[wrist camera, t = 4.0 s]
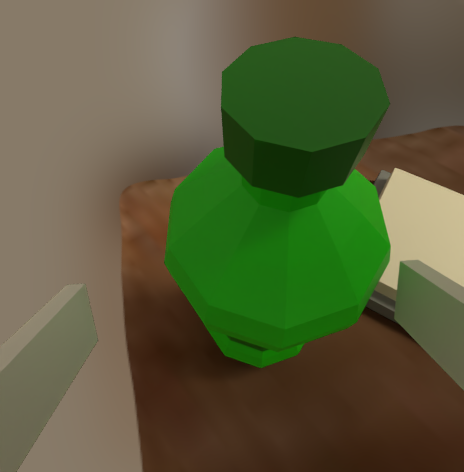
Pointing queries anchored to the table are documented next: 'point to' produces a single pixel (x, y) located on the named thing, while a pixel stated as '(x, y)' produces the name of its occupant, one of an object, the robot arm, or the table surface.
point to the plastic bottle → (283, 203)
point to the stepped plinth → (418, 232)
